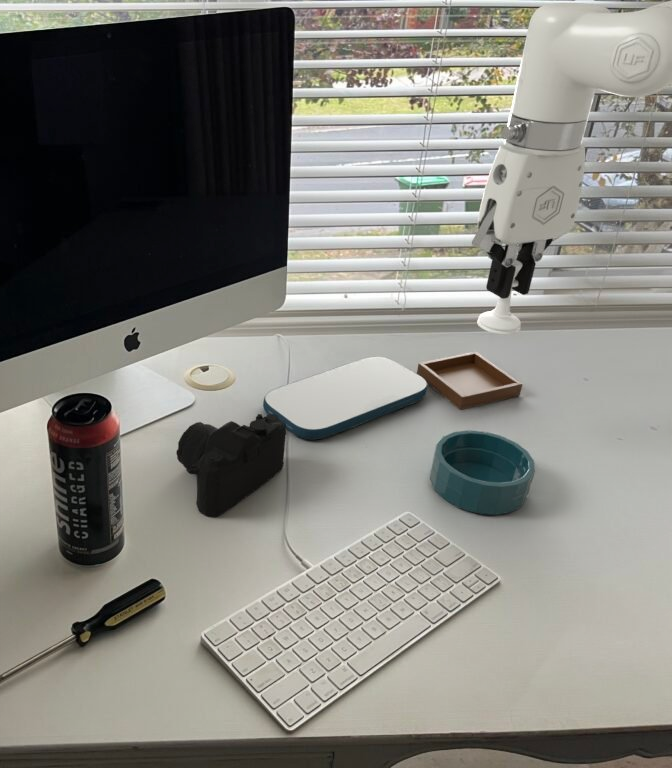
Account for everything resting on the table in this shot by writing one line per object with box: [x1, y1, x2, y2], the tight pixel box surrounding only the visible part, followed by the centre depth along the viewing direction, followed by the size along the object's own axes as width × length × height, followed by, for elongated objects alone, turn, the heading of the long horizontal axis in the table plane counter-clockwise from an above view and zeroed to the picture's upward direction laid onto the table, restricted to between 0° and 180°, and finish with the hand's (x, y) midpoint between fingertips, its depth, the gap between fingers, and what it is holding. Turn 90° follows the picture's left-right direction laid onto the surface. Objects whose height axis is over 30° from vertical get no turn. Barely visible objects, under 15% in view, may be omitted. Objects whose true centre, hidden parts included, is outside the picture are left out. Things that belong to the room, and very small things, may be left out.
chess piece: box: [476, 246, 522, 336], centre depth 93 cm, size 5×5×10 cm
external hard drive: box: [262, 355, 429, 440], centre depth 112 cm, size 24×12×2 cm, turn 121°
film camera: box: [176, 413, 288, 518], centre depth 95 cm, size 15×10×9 cm, turn 135°
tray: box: [416, 351, 524, 410], centre depth 115 cm, size 10×10×2 cm
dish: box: [429, 429, 536, 516], centre depth 95 cm, size 11×11×4 cm
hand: (506, 290), depth 94 cm, fingers closed on chess piece
